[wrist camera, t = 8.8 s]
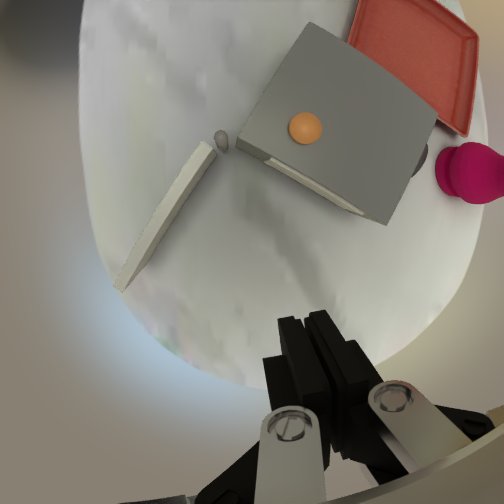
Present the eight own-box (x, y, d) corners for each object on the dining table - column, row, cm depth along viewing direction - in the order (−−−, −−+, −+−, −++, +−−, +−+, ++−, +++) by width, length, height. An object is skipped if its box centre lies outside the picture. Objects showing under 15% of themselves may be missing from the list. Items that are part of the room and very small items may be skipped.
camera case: (290, 53, 27) (311, 17, 18) (404, 129, 30) (452, 120, 21) (234, 148, 29) (236, 138, 21) (358, 220, 32) (399, 237, 23)
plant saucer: (467, 39, 27) (480, 34, 24) (452, 141, 31) (468, 140, 27) (360, -27, 24) (370, -39, 21) (329, 72, 28) (340, 63, 25)
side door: (230, 145, 29) (230, 135, 21) (149, 267, 31) (127, 295, 24) (217, 136, 28) (213, 124, 21) (137, 260, 31) (112, 285, 23)
